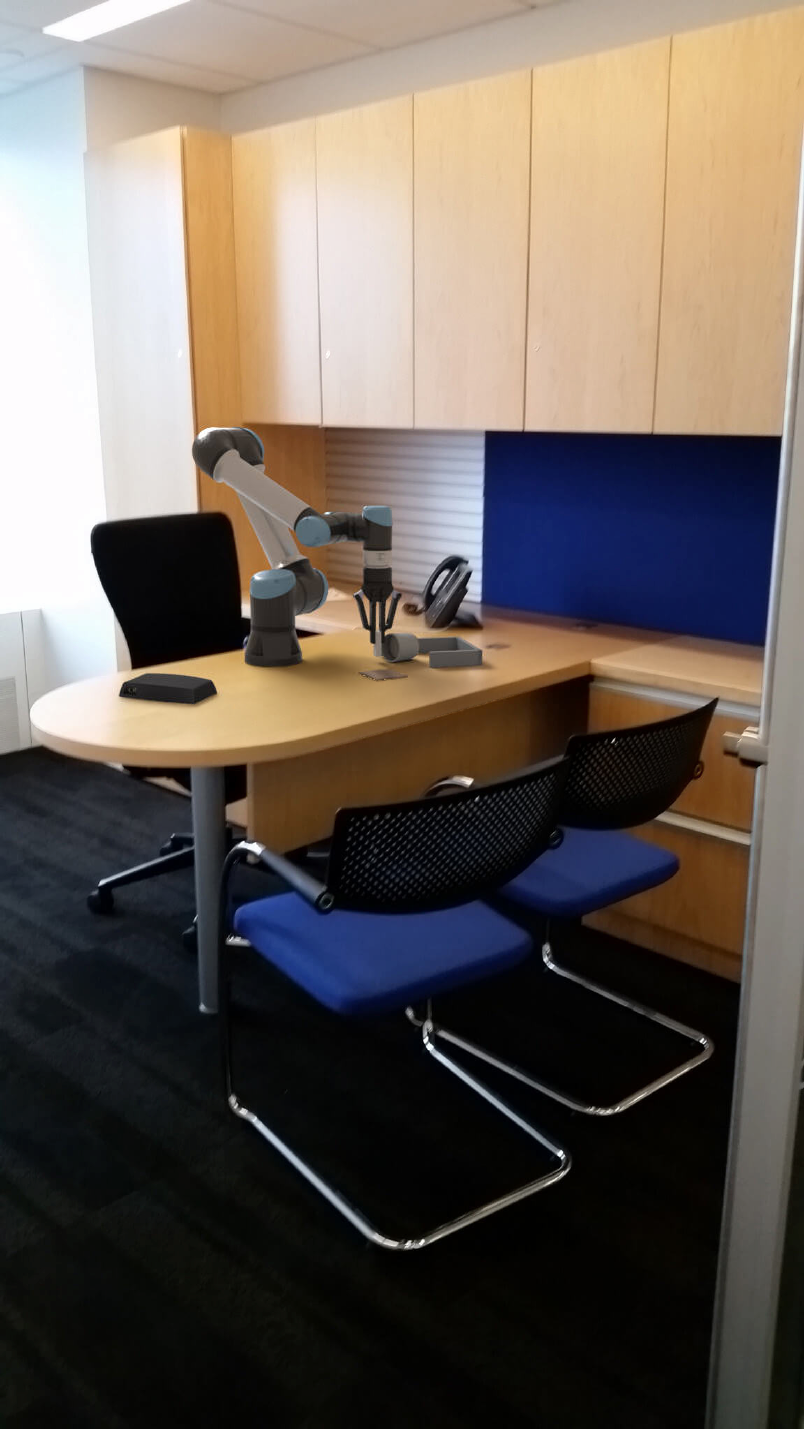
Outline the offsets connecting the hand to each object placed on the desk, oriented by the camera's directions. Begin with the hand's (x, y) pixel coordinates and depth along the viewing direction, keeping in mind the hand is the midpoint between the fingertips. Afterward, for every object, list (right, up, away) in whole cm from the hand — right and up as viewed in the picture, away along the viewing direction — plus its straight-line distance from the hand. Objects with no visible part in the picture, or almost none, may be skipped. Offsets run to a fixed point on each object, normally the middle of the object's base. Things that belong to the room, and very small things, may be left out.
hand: (377, 655), depth 302 cm
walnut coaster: (+2, -6, -14) cm, 16 cm away
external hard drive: (-47, -12, -38) cm, 62 cm away
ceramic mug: (+5, -1, +4) cm, 6 cm away
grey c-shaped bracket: (+18, -1, +6) cm, 19 cm away
